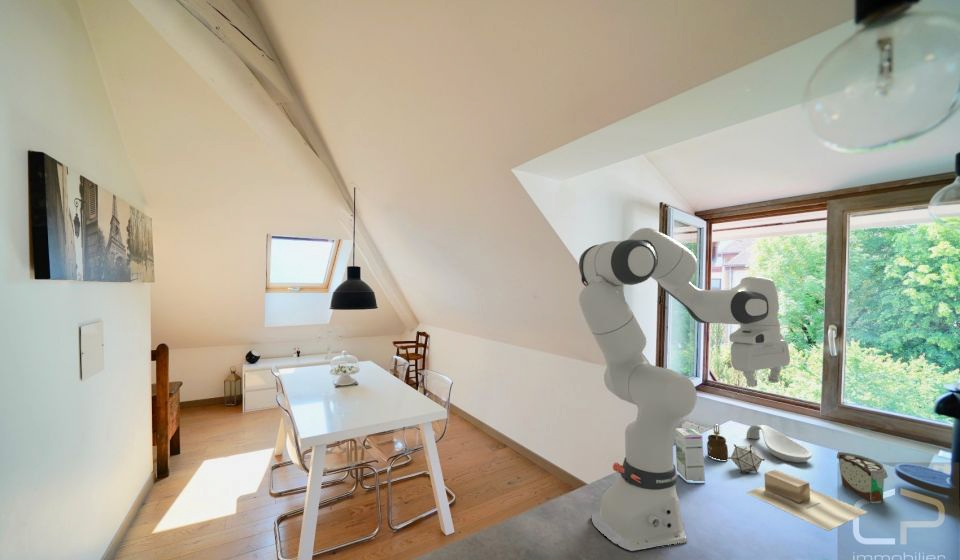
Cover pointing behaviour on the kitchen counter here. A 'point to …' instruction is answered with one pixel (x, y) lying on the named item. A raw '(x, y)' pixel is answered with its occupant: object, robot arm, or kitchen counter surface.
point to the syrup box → (689, 454)
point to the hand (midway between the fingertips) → (763, 384)
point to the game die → (746, 459)
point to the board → (813, 508)
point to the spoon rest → (780, 444)
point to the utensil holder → (717, 446)
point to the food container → (862, 476)
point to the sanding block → (787, 486)
